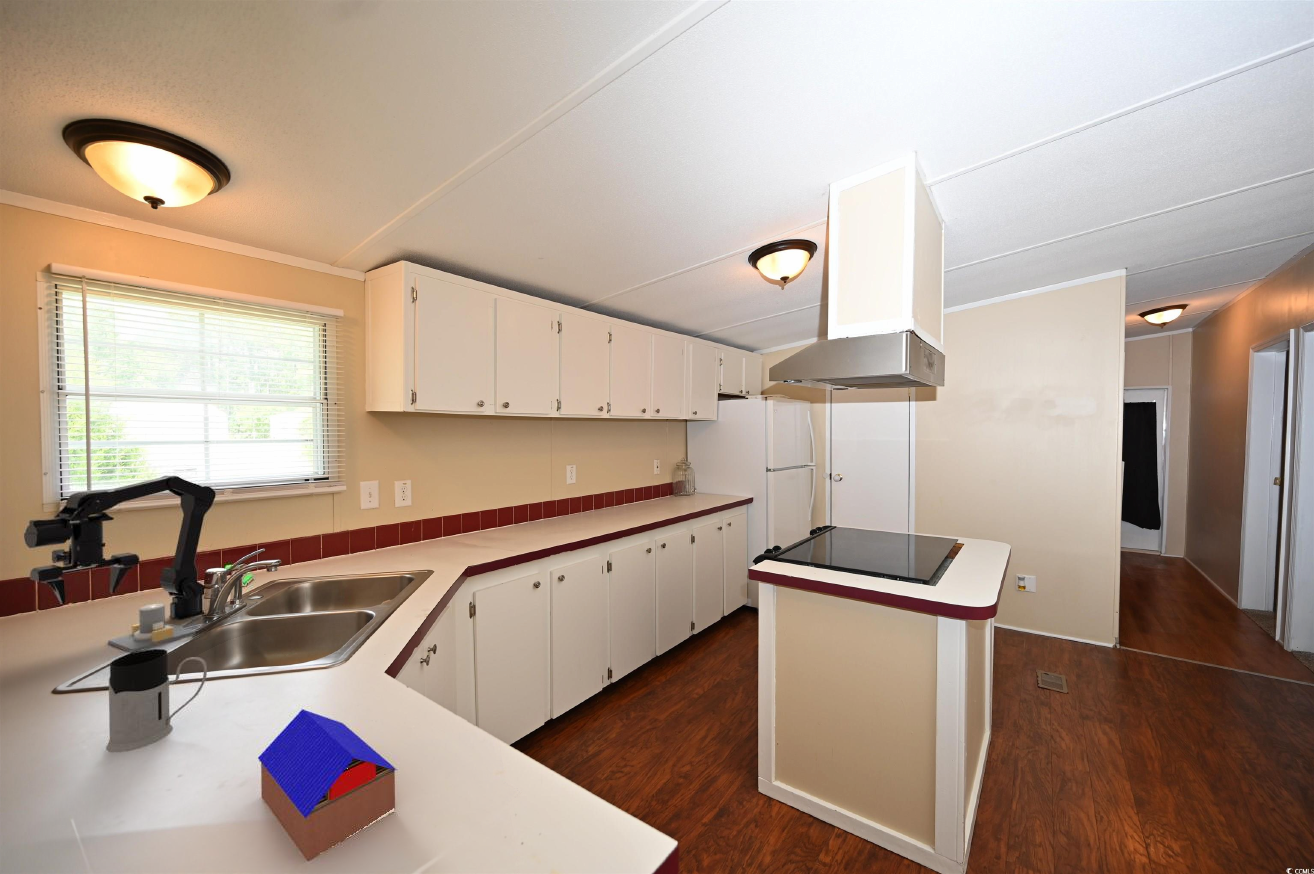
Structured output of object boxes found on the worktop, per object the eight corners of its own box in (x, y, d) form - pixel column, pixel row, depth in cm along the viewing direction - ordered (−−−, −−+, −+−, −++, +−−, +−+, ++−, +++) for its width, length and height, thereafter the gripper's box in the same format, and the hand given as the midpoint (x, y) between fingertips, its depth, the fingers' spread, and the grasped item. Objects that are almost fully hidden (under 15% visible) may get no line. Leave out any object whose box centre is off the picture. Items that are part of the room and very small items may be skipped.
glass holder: (123, 730, 98) (122, 651, 97) (216, 715, 103) (215, 640, 103) (93, 757, 90) (92, 672, 89) (196, 739, 95) (195, 658, 95)
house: (343, 761, 89) (342, 694, 89) (398, 814, 77) (397, 737, 77) (258, 800, 80) (257, 725, 80) (305, 868, 68) (304, 780, 67)
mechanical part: (245, 587, 185) (244, 565, 185) (224, 589, 183) (223, 567, 183) (255, 578, 196) (254, 557, 196) (235, 580, 194) (235, 559, 194)
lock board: (170, 626, 148) (170, 614, 148) (195, 634, 143) (195, 621, 143) (108, 644, 136) (107, 631, 136) (132, 653, 131) (132, 639, 131)
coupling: (171, 628, 140) (170, 605, 140) (147, 635, 136) (146, 611, 136) (157, 624, 143) (157, 601, 143) (133, 631, 139) (133, 607, 139)
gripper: (120, 530, 148) (121, 585, 148) (20, 544, 131) (21, 605, 131) (140, 534, 143) (140, 590, 144) (39, 548, 126) (40, 611, 127)
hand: (88, 598), depth 136 cm, fingers open, 9 cm apart
